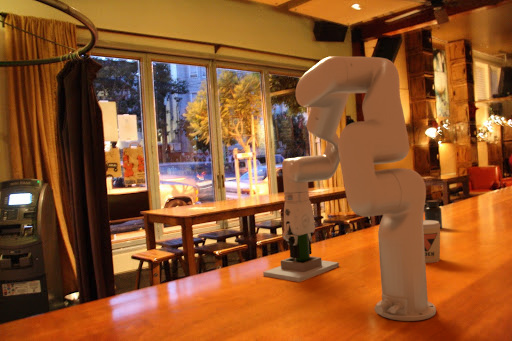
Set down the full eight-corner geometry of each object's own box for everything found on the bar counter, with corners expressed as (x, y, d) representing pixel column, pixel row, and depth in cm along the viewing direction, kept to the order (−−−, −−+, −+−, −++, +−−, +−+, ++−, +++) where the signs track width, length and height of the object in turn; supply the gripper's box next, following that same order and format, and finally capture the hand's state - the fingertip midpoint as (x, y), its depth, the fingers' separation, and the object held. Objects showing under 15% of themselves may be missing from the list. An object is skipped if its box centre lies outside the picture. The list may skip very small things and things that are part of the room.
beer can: (300, 267, 137) (297, 228, 137) (289, 265, 141) (286, 226, 141) (313, 264, 140) (311, 225, 140) (302, 261, 144) (300, 224, 144)
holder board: (299, 282, 129) (298, 269, 129) (263, 275, 139) (262, 263, 138) (338, 266, 143) (337, 254, 143) (303, 261, 153) (303, 250, 153)
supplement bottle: (422, 228, 198) (420, 201, 197) (433, 226, 200) (431, 199, 200) (434, 230, 191) (432, 202, 191) (446, 228, 194) (444, 200, 194)
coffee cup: (408, 262, 141) (406, 224, 141) (413, 256, 150) (411, 219, 149) (440, 264, 137) (438, 224, 137) (443, 257, 145) (441, 219, 145)
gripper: (288, 201, 131) (292, 263, 132) (322, 194, 144) (327, 251, 144) (269, 200, 137) (273, 260, 137) (304, 194, 149) (308, 249, 149)
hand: (301, 255), depth 141 cm, fingers closed on beer can, 5 cm apart
